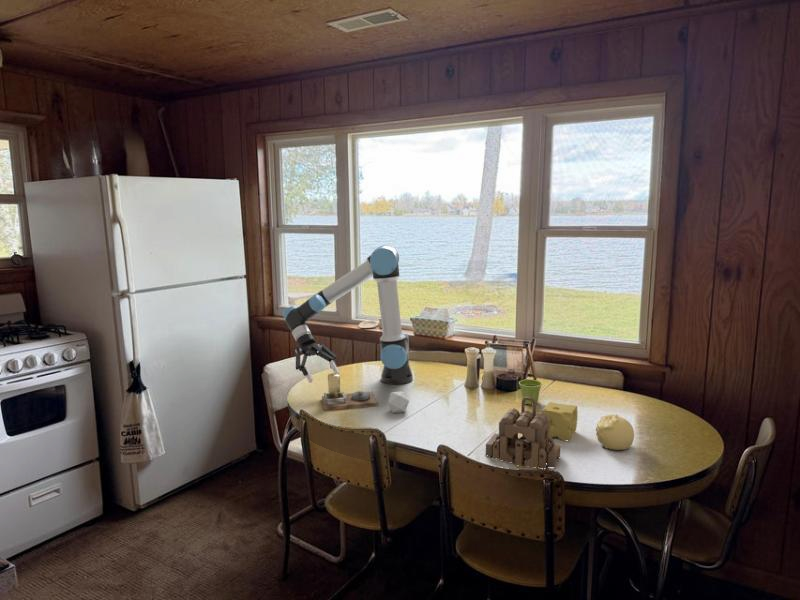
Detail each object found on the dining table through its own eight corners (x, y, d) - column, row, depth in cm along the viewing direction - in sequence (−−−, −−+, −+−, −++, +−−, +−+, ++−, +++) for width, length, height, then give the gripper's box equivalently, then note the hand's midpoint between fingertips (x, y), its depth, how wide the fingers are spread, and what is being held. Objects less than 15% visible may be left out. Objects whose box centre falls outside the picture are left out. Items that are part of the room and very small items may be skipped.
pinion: (340, 397, 228) (339, 372, 226) (341, 401, 223) (340, 376, 221) (328, 398, 227) (327, 373, 225) (329, 402, 222) (328, 377, 220)
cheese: (569, 442, 184) (570, 414, 183) (539, 436, 190) (539, 409, 188) (577, 431, 193) (578, 405, 192) (547, 425, 199) (548, 400, 197)
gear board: (372, 394, 235) (372, 385, 235) (377, 405, 222) (377, 396, 221) (322, 399, 231) (321, 389, 230) (324, 410, 217) (324, 400, 217)
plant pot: (527, 408, 216) (528, 387, 215) (513, 401, 225) (514, 381, 223) (546, 404, 220) (546, 384, 219) (531, 397, 228) (532, 378, 227)
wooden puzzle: (483, 458, 174) (484, 404, 170) (497, 441, 186) (497, 390, 183) (552, 473, 163) (554, 415, 160) (561, 453, 176) (563, 399, 173)
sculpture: (596, 437, 188) (597, 407, 187) (633, 442, 184) (634, 412, 182) (594, 450, 178) (595, 419, 176) (633, 456, 173) (635, 424, 172)
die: (404, 418, 210) (414, 395, 213) (384, 408, 210) (395, 385, 212) (400, 417, 218) (410, 396, 221) (381, 408, 218) (392, 386, 220)
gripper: (323, 337, 247) (344, 375, 239) (276, 347, 230) (296, 388, 222) (330, 328, 242) (351, 366, 234) (281, 337, 226) (303, 379, 217)
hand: (324, 377), depth 228 cm, fingers open, 13 cm apart
